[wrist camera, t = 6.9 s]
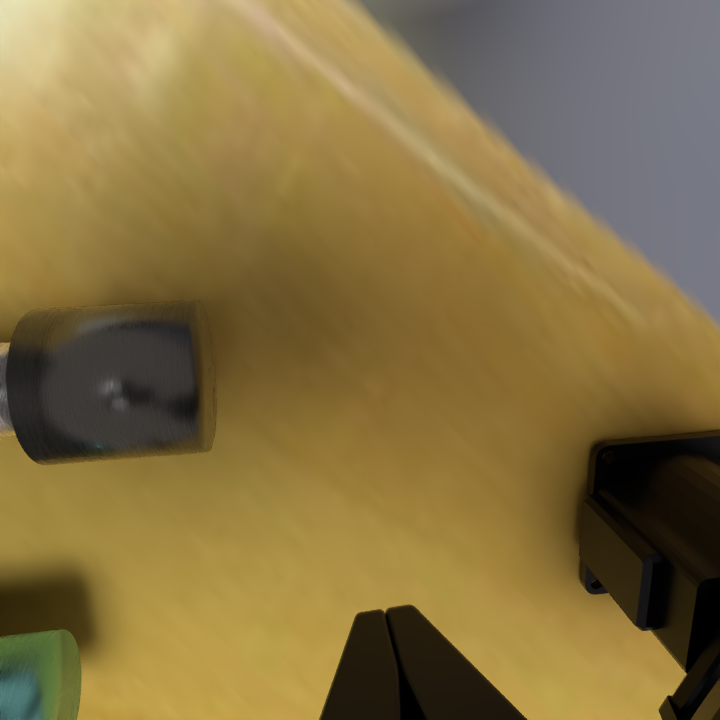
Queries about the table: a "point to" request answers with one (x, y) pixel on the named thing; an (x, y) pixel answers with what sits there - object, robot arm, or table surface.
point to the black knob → (110, 382)
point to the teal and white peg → (39, 676)
